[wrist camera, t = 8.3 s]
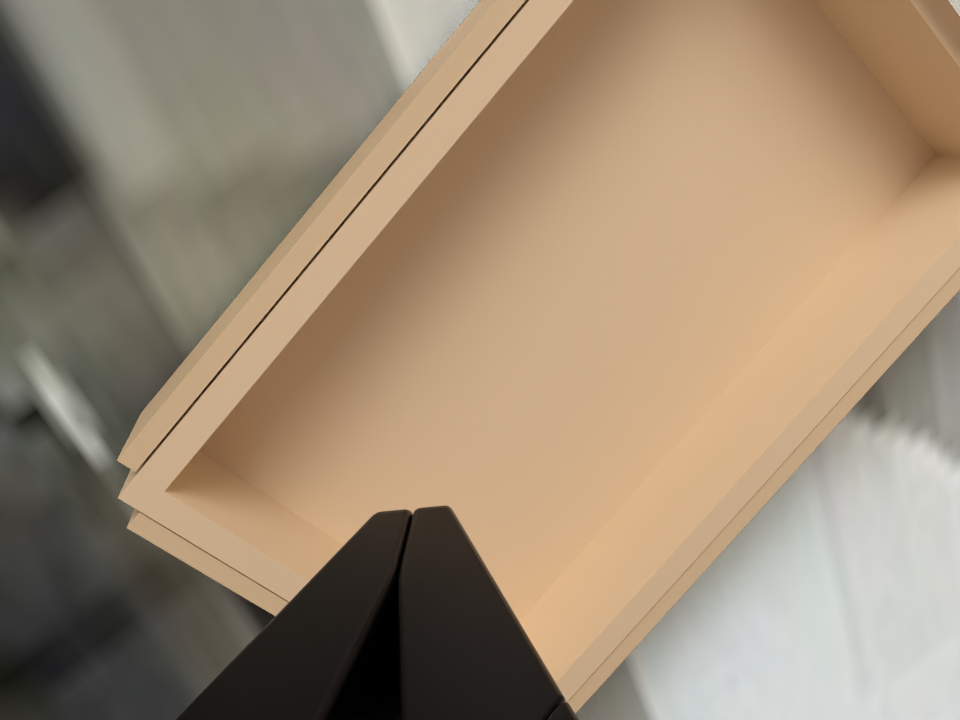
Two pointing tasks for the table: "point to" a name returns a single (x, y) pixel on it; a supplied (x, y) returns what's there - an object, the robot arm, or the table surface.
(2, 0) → the table surface
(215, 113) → the table surface
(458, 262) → the carton
